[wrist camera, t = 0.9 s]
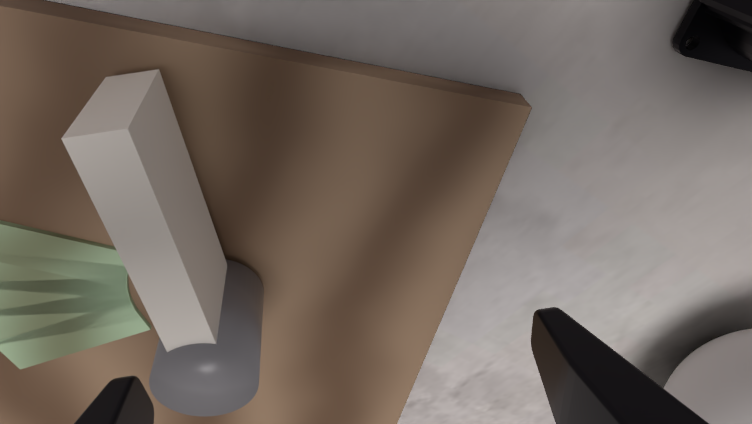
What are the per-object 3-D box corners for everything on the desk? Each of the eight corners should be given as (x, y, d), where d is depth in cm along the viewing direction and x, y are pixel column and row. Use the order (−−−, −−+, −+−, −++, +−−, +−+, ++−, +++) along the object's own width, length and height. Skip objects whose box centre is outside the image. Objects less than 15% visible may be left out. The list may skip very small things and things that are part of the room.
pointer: (272, 316, 24) (269, 406, 20) (187, 330, 23) (168, 424, 20) (193, 60, 17) (167, 126, 13) (75, 78, 17) (16, 149, 13)
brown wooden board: (520, 93, 21) (534, 109, 20) (387, 419, 31) (391, 441, 30) (-104, -29, 16) (-134, -17, 15) (-11, 404, 27) (-24, 430, 25)
